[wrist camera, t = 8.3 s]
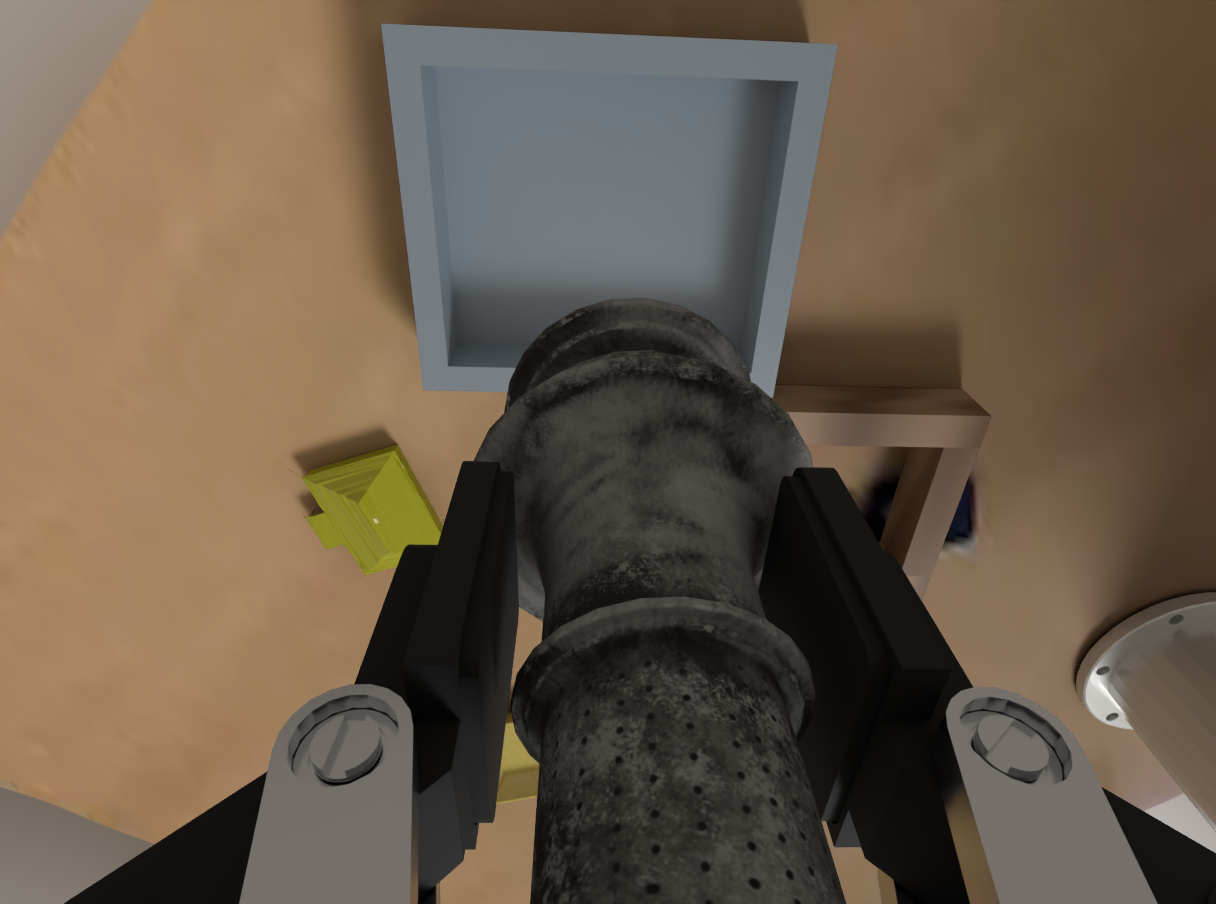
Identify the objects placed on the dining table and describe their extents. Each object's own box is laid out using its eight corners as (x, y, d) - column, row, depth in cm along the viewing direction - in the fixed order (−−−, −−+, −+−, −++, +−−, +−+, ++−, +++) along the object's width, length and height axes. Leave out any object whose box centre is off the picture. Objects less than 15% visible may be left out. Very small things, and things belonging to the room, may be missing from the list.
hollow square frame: (961, 389, 35) (991, 416, 33) (901, 565, 41) (922, 599, 39) (734, 383, 35) (746, 411, 32) (707, 563, 41) (715, 598, 38)
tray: (809, 44, 27) (838, 44, 24) (756, 366, 34) (772, 397, 31) (404, 25, 26) (380, 23, 23) (437, 359, 33) (423, 390, 30)
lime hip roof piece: (487, 546, 41) (481, 578, 38) (350, 582, 42) (335, 615, 39) (414, 406, 36) (401, 432, 33) (261, 451, 37) (237, 480, 34)
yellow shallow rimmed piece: (455, 708, 48) (450, 734, 46) (573, 687, 47) (573, 712, 45) (494, 779, 52) (490, 805, 50) (602, 760, 51) (603, 786, 50)
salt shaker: (538, 238, 12) (295, 1193, 2) (819, 338, 14) (1550, 1268, 3) (460, 488, 15) (196, 1421, 5) (699, 554, 16) (890, 1418, 6)
